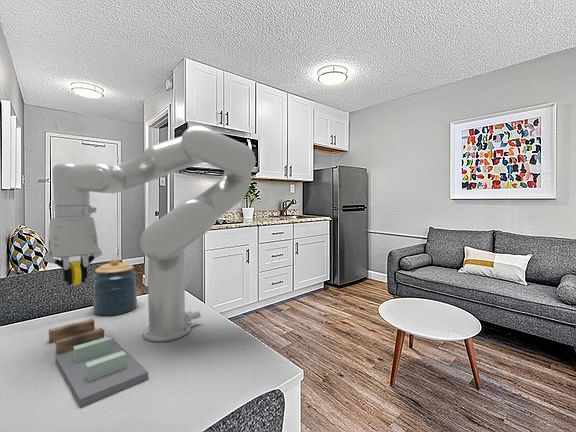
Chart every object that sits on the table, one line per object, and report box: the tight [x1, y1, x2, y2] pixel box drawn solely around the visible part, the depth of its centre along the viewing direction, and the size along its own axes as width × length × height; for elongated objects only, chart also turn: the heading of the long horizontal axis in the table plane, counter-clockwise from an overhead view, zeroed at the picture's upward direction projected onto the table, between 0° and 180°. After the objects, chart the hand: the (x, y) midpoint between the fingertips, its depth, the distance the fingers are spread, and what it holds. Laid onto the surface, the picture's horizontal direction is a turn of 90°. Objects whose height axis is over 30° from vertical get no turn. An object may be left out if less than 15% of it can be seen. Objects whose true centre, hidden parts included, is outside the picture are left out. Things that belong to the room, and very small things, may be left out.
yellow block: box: [69, 260, 82, 286], centre depth 79 cm, size 6×3×6 cm, turn 48°
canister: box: [92, 257, 138, 317], centre depth 103 cm, size 13×13×18 cm
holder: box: [48, 318, 105, 356], centre depth 80 cm, size 10×11×3 cm
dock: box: [54, 336, 149, 408], centre depth 66 cm, size 12×22×4 cm, turn 47°
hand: (75, 282), depth 79 cm, fingers closed on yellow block, 2 cm apart
